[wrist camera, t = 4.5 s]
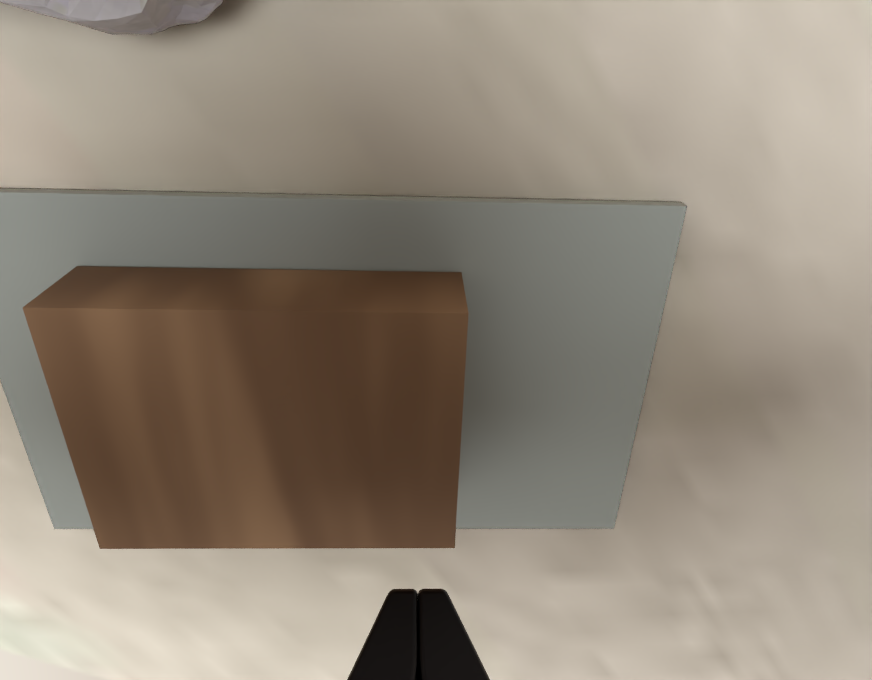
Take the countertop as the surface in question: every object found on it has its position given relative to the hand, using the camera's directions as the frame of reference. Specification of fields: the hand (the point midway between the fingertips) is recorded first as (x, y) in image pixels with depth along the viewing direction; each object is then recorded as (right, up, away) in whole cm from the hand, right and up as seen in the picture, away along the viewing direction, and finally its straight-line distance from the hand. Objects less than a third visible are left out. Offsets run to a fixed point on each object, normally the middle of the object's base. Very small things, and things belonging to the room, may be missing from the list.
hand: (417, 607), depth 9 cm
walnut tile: (+1, +2, +4) cm, 5 cm away
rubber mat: (-2, +3, +5) cm, 7 cm away
